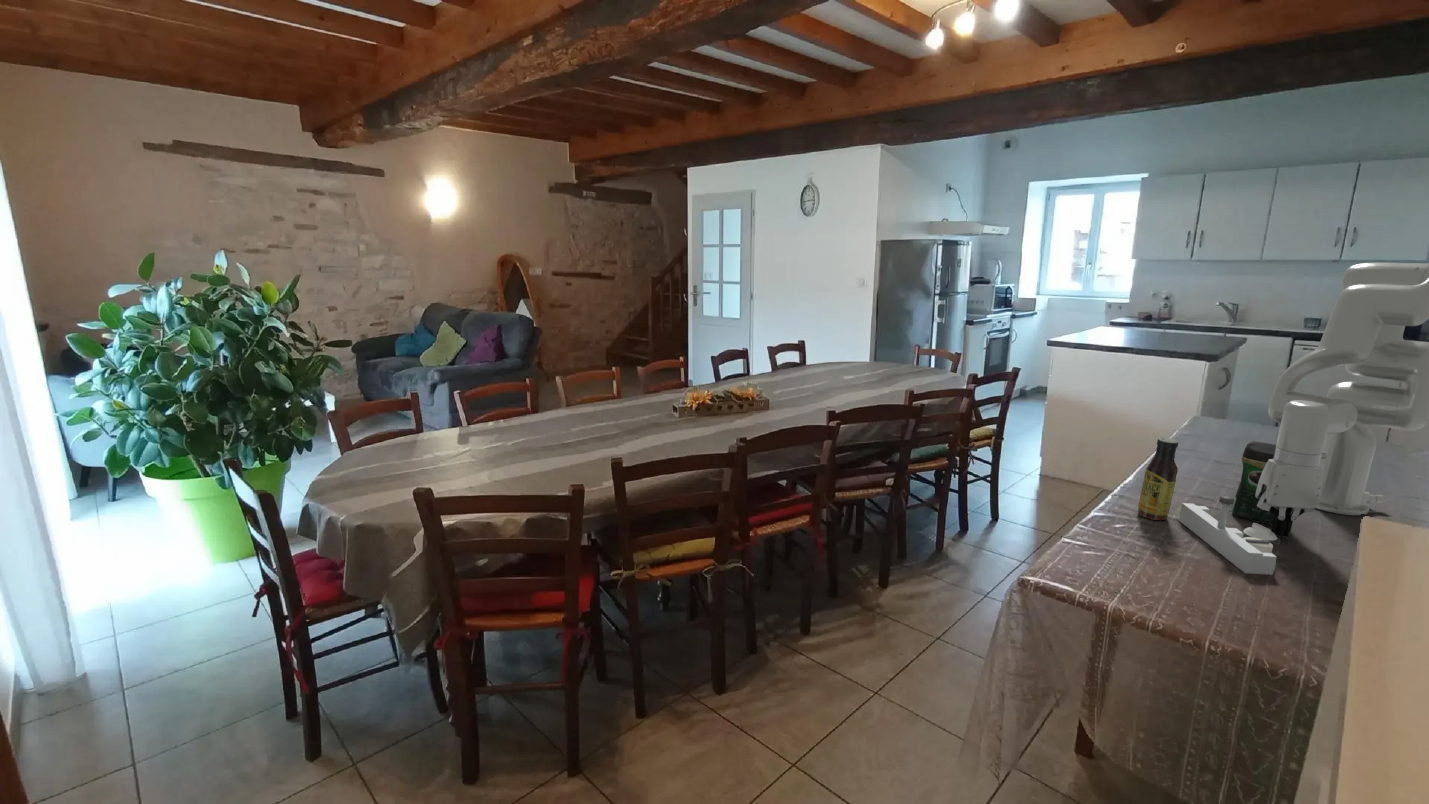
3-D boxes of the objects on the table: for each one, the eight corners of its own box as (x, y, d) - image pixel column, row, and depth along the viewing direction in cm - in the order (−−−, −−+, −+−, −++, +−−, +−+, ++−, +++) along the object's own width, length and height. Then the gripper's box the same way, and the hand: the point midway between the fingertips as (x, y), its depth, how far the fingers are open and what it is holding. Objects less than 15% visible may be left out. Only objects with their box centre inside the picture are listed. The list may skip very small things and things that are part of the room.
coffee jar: (1286, 519, 152) (1303, 445, 147) (1278, 528, 147) (1295, 453, 142) (1235, 506, 159) (1250, 436, 154) (1226, 515, 154) (1241, 443, 150)
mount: (1201, 521, 151) (1210, 476, 148) (1272, 574, 127) (1284, 522, 124) (1178, 520, 152) (1187, 475, 149) (1244, 572, 128) (1256, 520, 125)
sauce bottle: (1131, 511, 157) (1143, 435, 152) (1154, 510, 158) (1167, 434, 153) (1150, 523, 151) (1164, 443, 146) (1175, 521, 151) (1189, 442, 146)
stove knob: (1260, 530, 147) (1262, 519, 146) (1289, 545, 140) (1292, 533, 139) (1230, 532, 147) (1232, 520, 146) (1258, 546, 140) (1261, 534, 139)
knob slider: (1259, 555, 135) (1263, 535, 134) (1275, 566, 130) (1279, 546, 129) (1232, 553, 136) (1236, 534, 135) (1247, 564, 131) (1252, 545, 130)
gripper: (1322, 453, 140) (1304, 528, 145) (1247, 450, 142) (1231, 525, 147) (1350, 464, 133) (1330, 544, 137) (1270, 461, 135) (1253, 539, 140)
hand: (1279, 534), depth 142 cm, fingers closed
